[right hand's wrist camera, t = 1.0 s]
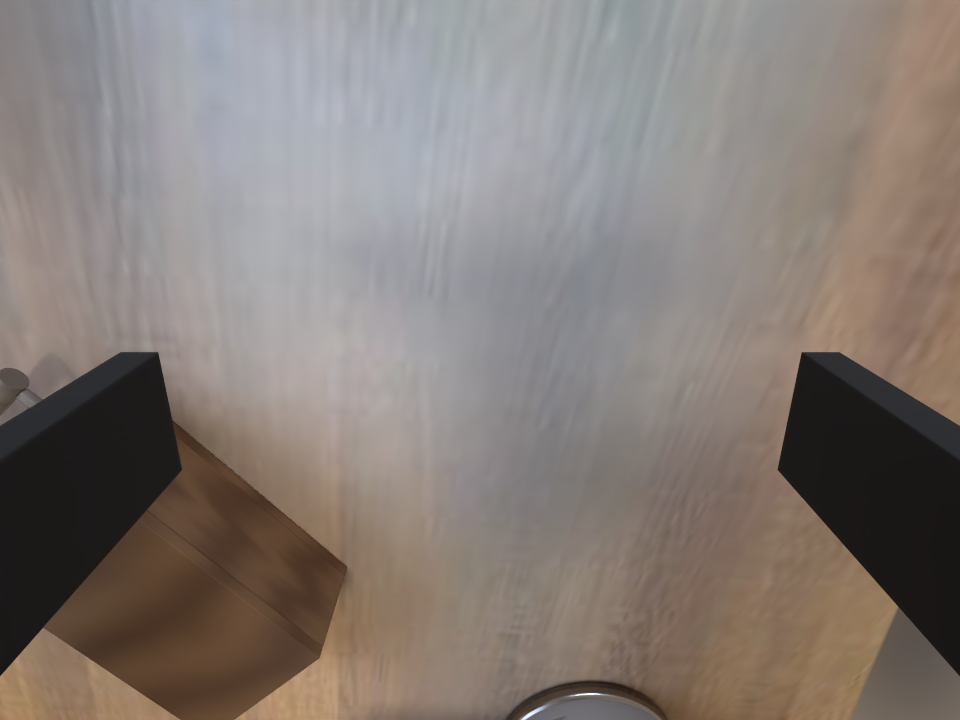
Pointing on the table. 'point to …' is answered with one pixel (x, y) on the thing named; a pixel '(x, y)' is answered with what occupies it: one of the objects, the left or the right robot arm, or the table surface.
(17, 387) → the drawer
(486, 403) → the table surface
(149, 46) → the table surface
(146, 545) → the cabinet
